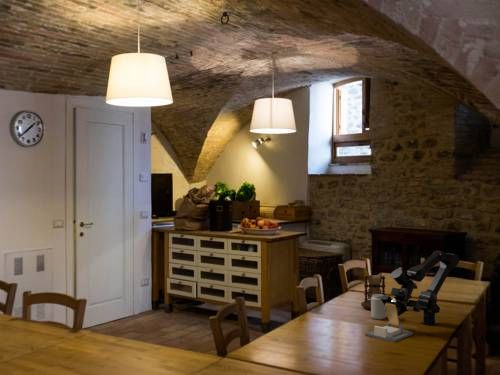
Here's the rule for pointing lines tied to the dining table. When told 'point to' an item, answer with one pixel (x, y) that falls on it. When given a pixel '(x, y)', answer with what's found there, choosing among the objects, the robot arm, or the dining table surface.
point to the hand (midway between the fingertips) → (394, 318)
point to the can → (377, 307)
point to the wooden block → (392, 314)
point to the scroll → (373, 288)
